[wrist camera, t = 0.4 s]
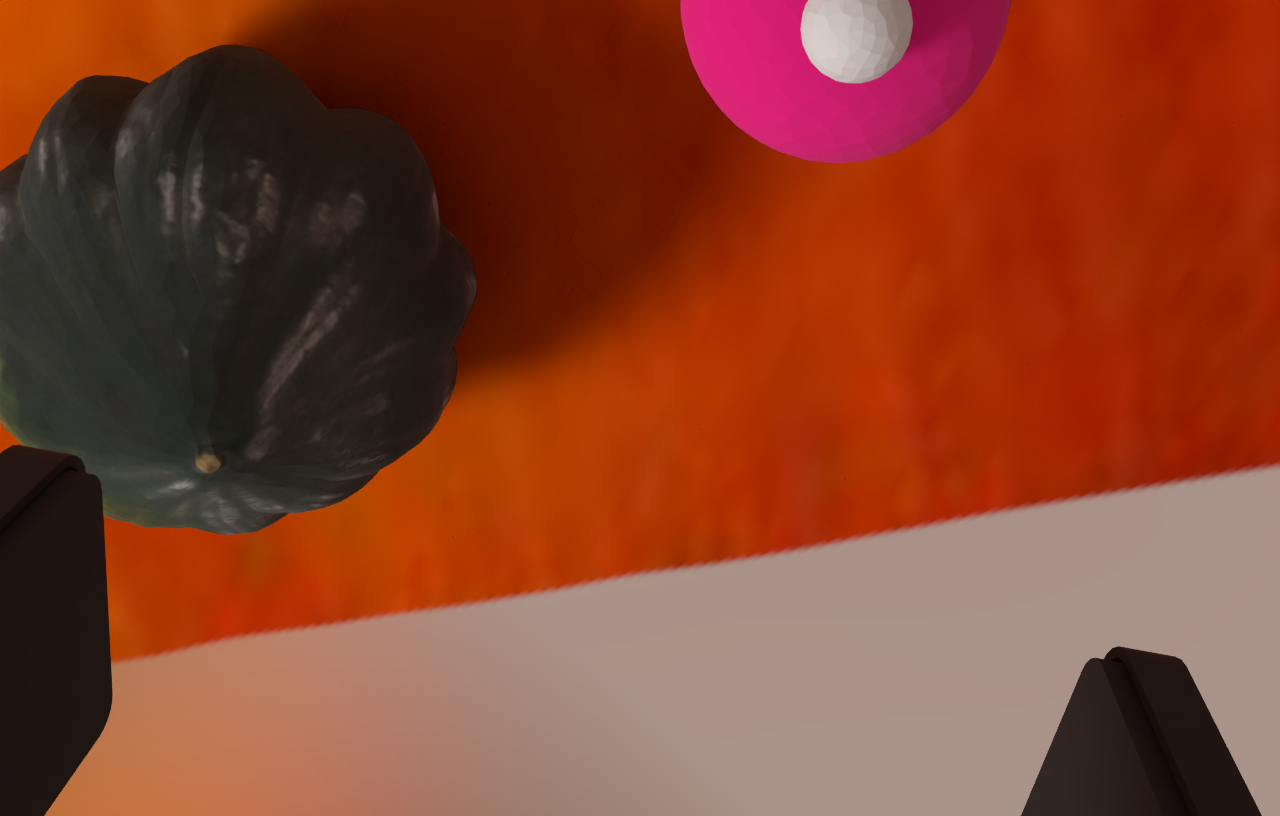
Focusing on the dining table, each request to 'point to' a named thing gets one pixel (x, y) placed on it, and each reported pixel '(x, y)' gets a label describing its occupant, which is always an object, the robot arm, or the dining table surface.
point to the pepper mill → (841, 68)
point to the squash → (224, 293)
